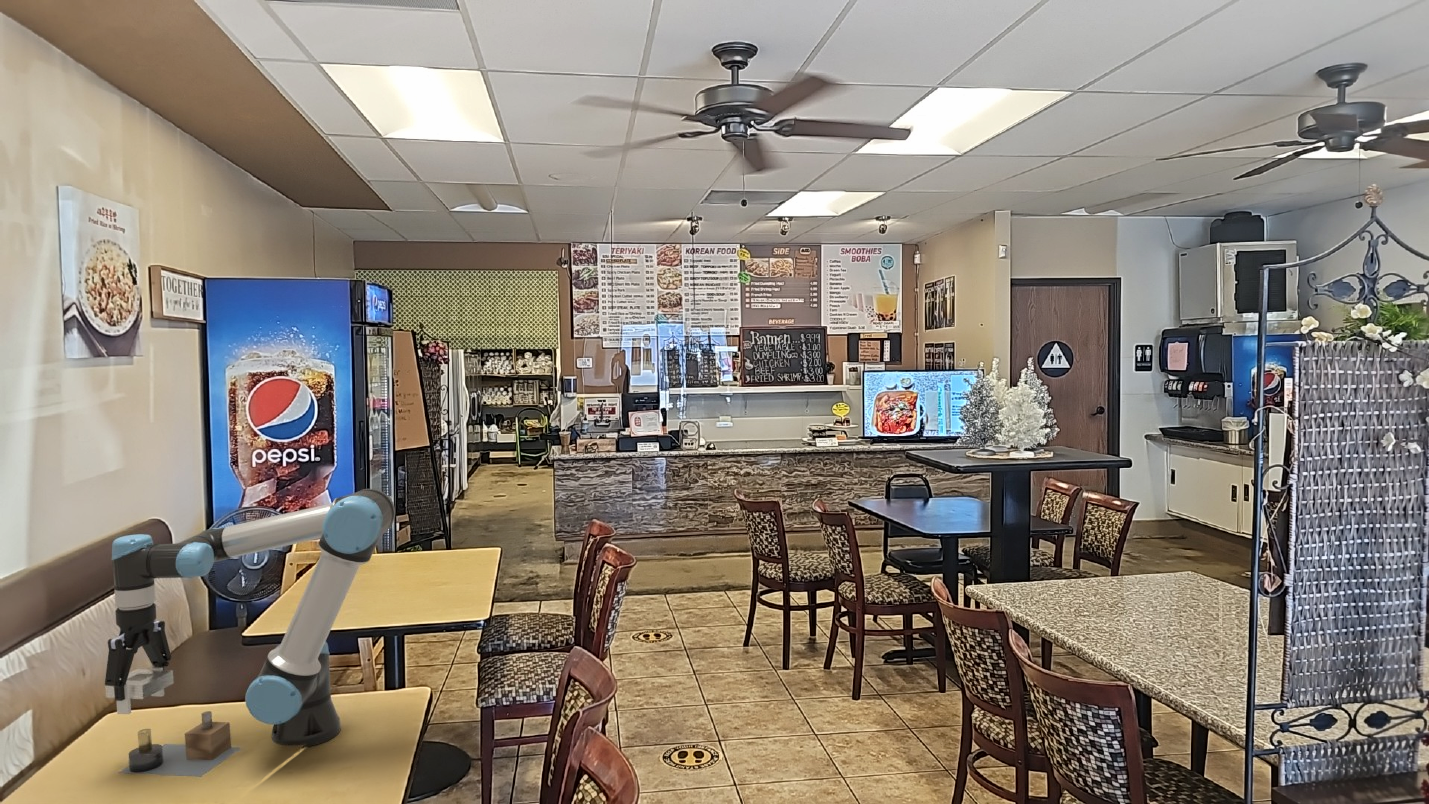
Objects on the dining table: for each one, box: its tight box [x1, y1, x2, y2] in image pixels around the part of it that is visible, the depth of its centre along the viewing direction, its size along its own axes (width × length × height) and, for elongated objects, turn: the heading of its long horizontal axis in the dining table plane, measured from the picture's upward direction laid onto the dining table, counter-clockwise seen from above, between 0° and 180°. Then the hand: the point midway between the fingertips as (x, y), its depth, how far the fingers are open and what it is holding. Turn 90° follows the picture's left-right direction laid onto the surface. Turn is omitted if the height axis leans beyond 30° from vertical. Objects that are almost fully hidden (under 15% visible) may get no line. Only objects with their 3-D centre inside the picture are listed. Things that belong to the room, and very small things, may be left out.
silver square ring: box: [104, 668, 175, 700], centre depth 198 cm, size 9×9×3 cm
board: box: [118, 743, 243, 778], centre depth 202 cm, size 20×14×1 cm
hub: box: [128, 728, 163, 774], centre depth 199 cm, size 6×6×8 cm
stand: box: [184, 710, 232, 760], centre depth 204 cm, size 6×6×10 cm
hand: (141, 704), depth 198 cm, fingers closed on silver square ring, 9 cm apart
